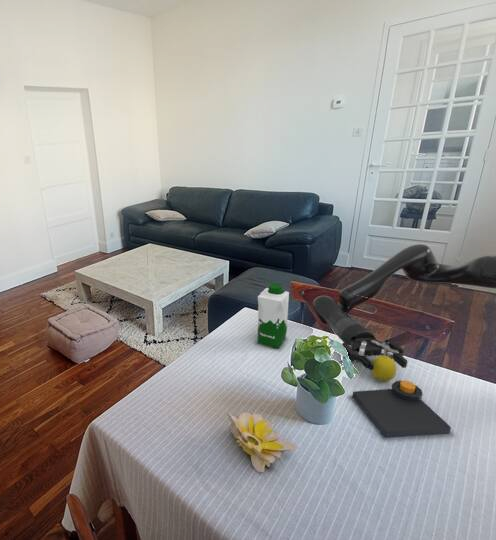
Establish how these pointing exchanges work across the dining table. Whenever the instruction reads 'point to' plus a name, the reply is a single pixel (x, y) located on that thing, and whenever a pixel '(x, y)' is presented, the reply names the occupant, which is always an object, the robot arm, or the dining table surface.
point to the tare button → (407, 387)
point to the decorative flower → (258, 439)
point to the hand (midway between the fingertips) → (388, 366)
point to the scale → (400, 412)
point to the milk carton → (272, 316)
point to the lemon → (384, 368)
